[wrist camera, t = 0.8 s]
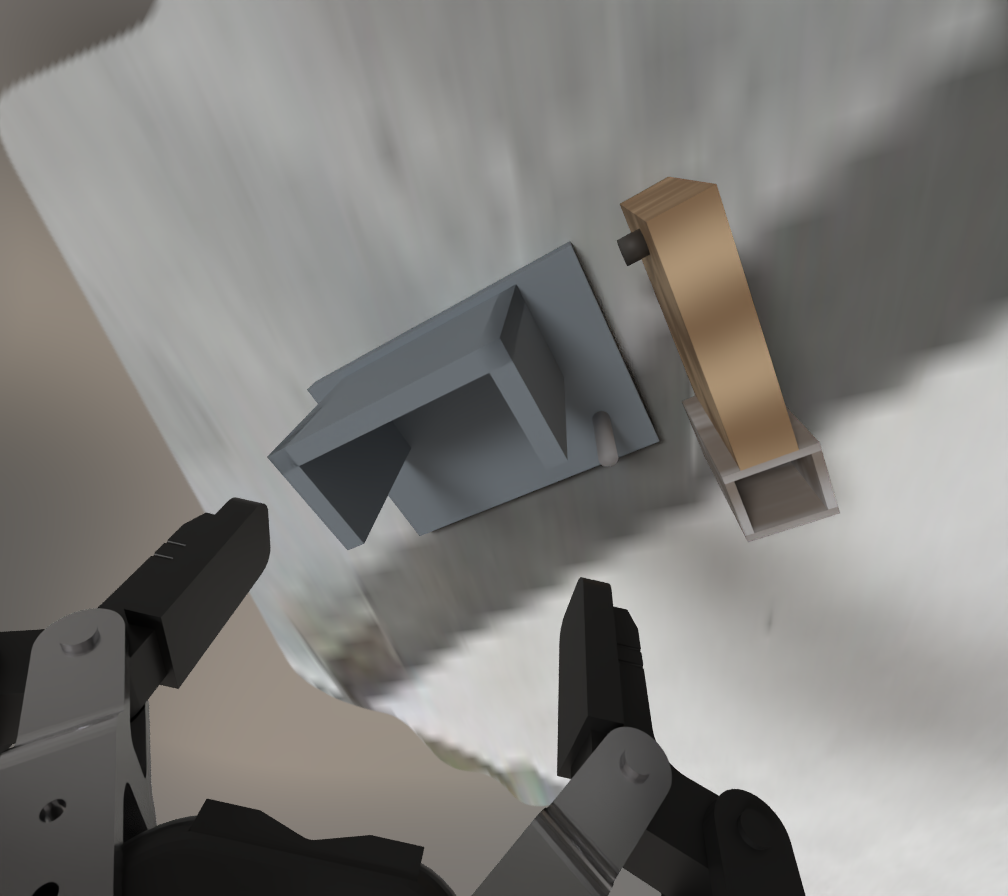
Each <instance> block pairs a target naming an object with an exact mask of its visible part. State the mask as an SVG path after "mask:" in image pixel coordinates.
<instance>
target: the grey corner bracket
mask: <svg viewBox="0 0 1008 896" xmlns="http://www.w3.org/2000/svg"><path fill="white" fill-rule="evenodd" d="M307 390H308V392H309V393H310V394H311V395H312V397H313V398H314V399H315V401H316V402H317V403H318V405H317V406H316V407H315V408H314V409H313V410H312V411H311V412H310V413H309V414H308V415H307V416H306V417H305V418H304V419H303V420H302V421H301V422H300V423H299V424H298V426H297V427H296V428H295V429H294V430H293V431H292V432H291V433H290V434H289V435H288V436H287V437H286V438H285V439H284V440H283V441H282V442H281V443H280V444H279V445H278V446H277V447H276V448H275V449H274V450H273V451H272V452H271V454H270V455H269V456H268V457H267V458H268V459H269V460H270V461H271V462H272V463H273V464H274V466H275V467H276V468H277V469H278V470H279V471H280V473H281V474H282V475H283V476H284V477H285V478H286V480H287V481H288V482H289V483H290V484H291V485H292V486H293V488H294V489H295V490H296V491H297V492H298V493H299V495H300V496H301V497H302V498H303V499H304V500H305V502H306V503H307V504H308V505H309V506H310V507H311V508H312V510H313V511H314V512H315V513H316V514H317V515H318V517H319V518H320V519H321V520H322V521H323V522H324V524H325V525H326V526H327V527H328V528H329V529H330V530H331V532H332V533H333V534H334V535H335V536H336V537H337V539H338V540H339V541H340V542H341V543H342V544H343V545H344V547H345V548H346V549H347V550H350V549H352V548H355V547H357V546H360V545H362V544H364V543H365V541H366V539H367V537H368V535H369V533H370V531H371V529H372V527H373V524H374V522H375V520H376V518H377V516H378V514H379V512H380V510H381V508H382V506H383V504H384V502H385V500H386V498H387V496H389V497H390V498H391V499H392V501H393V502H394V503H395V505H396V506H397V507H398V509H399V510H400V511H401V512H402V514H403V515H404V516H405V518H406V519H407V520H408V522H409V523H410V524H411V525H412V527H413V528H414V529H415V531H416V532H417V533H418V535H419V536H421V535H424V534H426V533H429V532H431V531H434V530H436V529H439V528H441V527H444V526H446V525H449V524H451V523H454V522H456V521H459V520H461V519H464V518H467V517H469V516H472V515H474V514H477V513H479V512H482V511H484V510H487V509H489V508H492V507H494V506H497V505H499V504H502V503H504V502H507V501H510V500H512V499H515V498H517V497H520V496H522V495H525V494H527V493H530V492H532V491H535V490H537V489H540V488H542V487H545V486H547V485H550V484H553V483H555V482H558V481H560V480H563V479H565V478H568V477H570V476H573V475H575V474H578V473H580V472H583V471H585V470H588V469H590V468H593V467H596V466H598V465H603V466H605V467H610V466H613V465H615V464H616V463H617V461H618V457H621V456H623V455H626V454H628V453H631V452H633V451H636V450H639V449H641V448H644V447H646V446H649V445H651V444H654V443H656V442H659V439H658V436H657V433H656V431H655V429H654V426H653V424H652V422H651V420H650V418H649V415H648V413H647V411H646V409H645V406H644V404H643V402H642V400H641V398H640V395H639V393H638V391H637V389H636V386H635V384H634V382H633V380H632V378H631V375H630V373H629V371H628V369H627V366H626V364H625V362H624V360H623V358H622V355H621V353H620V351H619V349H618V346H617V344H616V342H615V340H614V338H613V335H612V333H611V331H610V329H609V326H608V324H607V322H606V320H605V318H604V315H603V313H602V311H601V309H600V306H599V304H598V302H597V300H596V298H595V295H594V293H593V291H592V289H591V286H590V284H589V282H588V280H587V278H586V275H585V273H584V271H583V269H582V266H581V264H580V262H579V260H578V258H577V255H576V253H575V251H574V249H573V246H572V244H571V242H568V243H566V244H564V245H562V246H561V247H559V248H557V249H555V250H553V251H552V252H550V253H548V254H546V255H544V256H543V257H541V258H539V259H537V260H535V261H533V262H532V263H530V264H528V265H526V266H524V267H523V268H521V269H519V270H517V271H515V272H514V273H512V274H510V275H508V276H506V277H504V278H503V279H501V280H499V281H497V282H495V283H494V284H492V285H490V286H488V287H486V288H485V289H483V290H481V291H479V292H477V293H475V294H474V295H472V296H470V297H468V298H466V299H465V300H463V301H461V302H459V303H457V304H456V305H454V306H452V307H450V308H448V309H446V310H445V311H443V312H441V313H439V314H437V315H436V316H434V317H432V318H430V319H428V320H427V321H425V322H423V323H421V324H419V325H418V326H416V327H414V328H412V329H410V330H408V331H407V332H405V333H403V334H401V335H399V336H398V337H396V338H394V339H392V340H390V341H389V342H387V343H385V344H383V345H381V346H379V347H378V348H376V349H374V350H372V351H370V352H369V353H367V354H365V355H363V356H361V357H360V358H358V359H356V360H354V361H352V362H350V363H349V364H347V365H345V366H343V367H341V368H340V369H338V370H336V371H334V372H332V373H331V374H329V375H327V376H325V377H323V378H322V379H320V380H318V381H316V382H315V383H314V384H313V385H312V386H310V387H309V388H308V389H307Z"/></svg>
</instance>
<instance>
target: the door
mask: <svg viewBox="0 0 1008 896" xmlns="http://www.w3.org/2000/svg"><path fill="white" fill-rule="evenodd" d="M620 206H621V208H622V211H623V213H624V216H625V218H626V221H627V223H628V226H629V228H630V231H631V233H630V234H628V235H626V236H624V237H622V238H621V239H619V240H617V243H618V246H619V248H620V251H621V253H622V256H623V258H624V260H625V262H626V264H627V266H629V265H631V264H633V263H635V262H637V261H639V260H641V259H642V261H643V264H644V266H645V269H646V271H647V274H648V276H649V279H650V281H651V284H652V286H653V289H654V292H655V294H656V297H657V299H658V302H659V304H660V307H661V309H662V312H663V314H664V317H665V319H666V322H667V324H668V327H669V329H670V332H671V335H672V337H673V340H674V342H675V345H676V347H677V350H678V352H679V355H680V357H681V360H682V362H683V365H684V367H685V370H686V372H687V375H688V377H689V380H690V383H691V385H692V388H693V390H694V393H695V395H696V396H694V397H691V398H689V399H686V400H684V401H682V403H683V405H684V408H685V410H686V413H687V415H688V417H689V420H690V422H691V425H692V427H693V430H694V432H695V434H696V437H697V439H698V442H699V444H700V447H701V449H702V451H703V454H704V456H705V458H706V460H707V462H708V464H709V466H710V468H711V470H712V472H713V474H714V476H715V478H716V480H717V482H718V484H719V486H720V488H721V490H722V492H723V494H724V496H725V498H726V500H727V502H728V504H729V506H730V507H731V509H732V511H733V513H734V515H735V517H736V519H737V521H738V523H739V525H740V527H741V529H742V531H743V533H744V535H745V537H746V539H747V541H748V542H750V541H753V540H756V539H759V538H763V537H766V536H769V535H772V534H775V533H779V532H782V531H785V530H788V529H791V528H794V527H798V526H801V525H804V524H807V523H810V522H813V521H817V520H820V519H823V518H826V517H829V516H833V515H836V514H839V513H840V512H839V508H838V505H837V501H836V498H835V494H834V491H833V488H832V484H831V481H830V477H829V474H828V470H827V467H826V463H825V460H824V456H823V453H822V449H821V446H820V443H819V442H818V440H817V439H816V438H815V437H814V436H813V435H812V434H811V433H810V432H809V431H808V430H807V429H806V428H805V427H804V425H803V424H802V423H801V422H800V421H799V420H798V419H797V418H796V417H795V416H794V415H793V414H792V413H791V412H790V411H789V409H788V408H787V407H786V406H785V403H784V400H783V396H782V393H781V390H780V387H779V384H778V380H777V377H776V374H775V371H774V368H773V364H772V361H771V358H770V355H769V351H768V348H767V345H766V342H765V339H764V335H763V332H762V329H761V326H760V323H759V319H758V316H757V313H756V310H755V307H754V303H753V300H752V297H751V294H750V290H749V287H748V284H747V281H746V278H745V274H744V271H743V268H742V265H741V262H740V258H739V255H738V252H737V249H736V245H735V242H734V239H733V236H732V233H731V229H730V226H729V223H728V220H727V217H726V213H725V210H724V207H723V204H722V201H721V197H720V194H719V191H718V188H717V184H712V183H706V182H699V181H693V180H686V179H680V178H673V177H667V178H665V179H664V180H662V181H660V182H658V183H656V184H655V185H653V186H651V187H649V188H648V189H646V190H644V191H642V192H640V193H639V194H637V195H635V196H633V197H631V198H630V199H628V200H626V201H624V202H622V203H621V204H620Z"/></svg>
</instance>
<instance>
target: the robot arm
mask: <svg viewBox="0 0 1008 896" xmlns="http://www.w3.org/2000/svg"><path fill="white" fill-rule="evenodd" d="M269 555H270V534H269V518H268V508H267V506H266V505H265V504H262V503H258V502H254V501H249V500H245V499H240V498H236V497H235V498H232V499H230V500H229V501H228V502H227V503H226V504H225V505H224V506H223V507H222V508H221V509H220V510H219V511H218V512H217V513H216V514H215V515H214V514H210V513H204V514H202V515H200V516H199V517H197V518H195V519H193V520H191V521H189V522H187V523H185V524H184V525H182V526H181V527H180V528H179V530H177V531H176V532H175V533H174V534H173V535H172V536H171V537H170V538H169V539H168V541H167V543H164V544H163V545H162V546H161V547H160V548H159V549H158V550H157V551H156V552H155V554H154V556H151V557H150V558H149V559H148V560H146V561H145V562H144V564H142V565H141V567H139V568H138V569H137V570H136V571H135V572H134V573H133V574H132V575H131V576H130V577H129V578H128V579H127V580H126V581H125V582H124V583H123V584H122V585H121V586H120V587H119V588H118V589H117V590H116V591H115V592H114V593H113V594H112V595H111V596H110V597H109V598H107V600H105V602H103V603H102V604H101V605H100V606H99V607H98V608H96V609H86V610H81V611H78V612H74V613H72V614H69V615H67V616H65V617H63V618H61V619H59V620H58V621H56V622H54V623H52V624H51V625H50V626H48V627H47V628H46V629H41V630H26V631H10V632H0V896H456V894H455V893H454V891H453V890H452V889H451V888H450V887H449V885H448V884H447V883H446V882H445V881H444V880H443V879H442V878H441V877H440V876H439V875H437V874H436V873H435V872H434V871H433V870H432V869H430V868H428V867H427V866H425V865H424V864H422V863H421V860H422V855H423V851H424V847H422V846H417V845H413V844H409V843H404V842H400V841H395V840H390V839H385V838H381V837H377V836H373V835H367V836H356V837H344V838H333V839H322V840H309V839H306V838H304V837H302V836H301V835H299V834H297V833H296V832H294V831H292V830H291V829H289V828H288V827H286V826H285V825H283V824H281V823H280V822H278V821H276V820H275V819H273V818H272V817H270V816H268V815H267V814H265V813H264V812H262V811H260V810H256V809H251V808H247V807H242V806H238V805H234V804H229V803H224V802H220V801H215V800H211V799H206V801H205V803H204V804H203V806H202V808H201V810H200V811H199V813H198V815H197V816H190V817H185V818H180V819H176V820H172V821H169V822H166V823H163V824H160V825H158V826H157V824H156V815H155V807H154V802H153V796H152V786H151V756H150V721H149V702H148V699H149V697H150V696H151V695H152V694H153V692H154V691H155V690H156V688H157V687H158V686H159V685H163V686H168V687H172V688H177V689H179V687H180V686H181V685H182V683H183V682H184V680H185V679H186V678H187V676H188V675H189V673H190V672H191V671H192V669H193V668H194V667H195V665H196V664H197V662H198V661H199V660H200V658H201V657H202V656H203V654H204V653H205V651H206V650H207V648H208V647H209V646H210V644H211V643H212V642H213V640H214V639H215V638H216V636H217V635H218V633H219V632H220V631H221V629H222V628H223V626H224V625H225V624H226V622H227V621H228V620H229V618H230V617H231V615H232V614H233V613H234V611H235V610H236V608H237V607H238V606H239V604H240V603H241V602H242V600H243V599H244V597H245V596H246V595H247V593H248V592H249V591H250V589H251V588H252V586H253V585H254V584H255V582H256V581H257V580H258V578H259V577H260V575H261V574H262V572H263V571H264V569H265V567H266V565H267V562H268V559H269ZM640 649H641V647H640V640H639V633H638V628H637V626H636V624H635V623H634V621H633V619H632V617H631V616H630V614H629V612H628V610H626V609H622V608H618V607H613V600H612V590H611V586H610V584H609V583H604V582H600V581H595V580H591V579H587V578H582V577H580V578H579V580H578V582H577V585H576V587H575V590H574V592H573V595H572V597H571V600H570V602H569V605H568V608H567V610H566V613H565V615H564V618H563V622H562V626H561V632H560V644H559V700H558V756H557V776H560V777H565V778H569V779H571V780H570V781H569V783H568V784H567V785H566V786H565V788H564V789H563V790H562V791H561V792H560V794H559V795H558V796H557V797H556V799H555V800H554V801H553V802H552V803H551V804H550V806H549V807H547V808H544V809H543V810H542V811H541V812H540V813H539V814H538V815H537V816H536V818H535V819H534V820H533V821H532V822H531V824H530V825H529V826H528V827H527V828H526V830H525V831H524V832H523V833H522V835H521V836H520V837H519V838H518V839H517V841H516V842H515V843H514V844H513V846H512V847H511V848H510V849H509V850H508V852H507V853H506V854H505V855H504V857H503V858H502V859H501V860H500V862H499V863H498V864H497V865H496V866H495V867H494V869H493V870H492V871H491V872H490V874H489V875H488V876H487V877H486V879H485V880H484V881H483V882H482V883H481V885H480V886H479V887H478V888H477V889H476V891H475V892H474V893H473V894H472V896H608V895H609V893H610V891H611V889H612V887H613V883H614V881H615V879H616V877H617V875H618V874H619V872H620V871H621V869H622V867H623V868H624V869H626V870H627V871H629V872H630V873H632V874H633V875H635V876H637V877H638V878H640V879H641V880H642V881H644V882H646V883H647V884H649V885H650V886H652V887H653V888H655V889H656V890H658V891H659V892H661V896H805V892H804V889H803V885H802V881H801V878H800V874H799V871H798V867H797V863H796V860H795V856H794V852H793V849H792V845H791V842H790V839H789V836H788V833H787V831H786V829H785V827H784V825H783V824H782V822H781V820H780V819H779V818H778V816H777V815H776V814H775V812H774V811H773V810H772V809H771V808H770V807H769V806H768V805H767V804H766V803H765V802H764V801H762V800H761V799H760V798H758V797H757V796H755V795H753V794H751V793H749V792H747V791H744V790H739V789H731V790H727V791H725V792H723V793H722V794H721V795H720V796H718V795H716V794H715V793H713V792H711V791H710V790H708V789H706V788H704V787H703V786H701V785H699V784H698V783H696V782H694V781H692V780H691V779H689V778H687V777H686V776H684V775H683V774H681V773H680V772H679V771H678V770H676V769H675V768H674V767H673V766H672V765H671V764H670V763H669V761H668V759H667V756H666V755H665V753H664V751H663V749H662V748H661V747H660V746H659V744H658V743H657V742H656V740H655V737H654V734H653V729H652V722H651V715H650V709H649V702H648V695H647V688H646V681H645V674H644V669H643V660H642V653H641V652H640ZM15 743H16V744H15ZM12 744H15V746H14V747H13V748H9V747H10V746H11V745H12Z"/></svg>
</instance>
